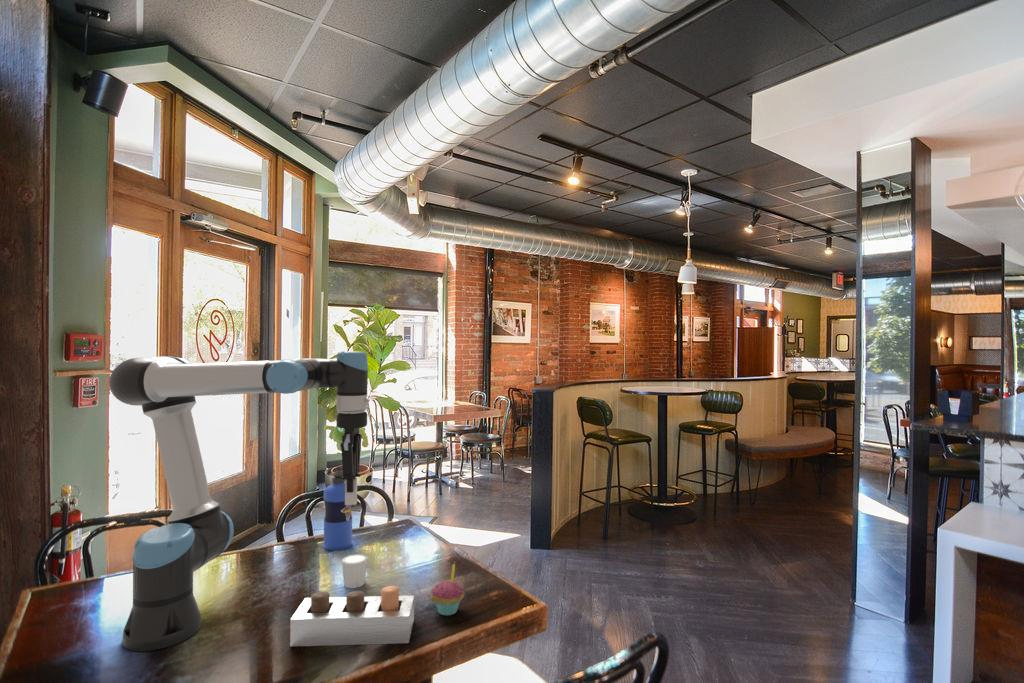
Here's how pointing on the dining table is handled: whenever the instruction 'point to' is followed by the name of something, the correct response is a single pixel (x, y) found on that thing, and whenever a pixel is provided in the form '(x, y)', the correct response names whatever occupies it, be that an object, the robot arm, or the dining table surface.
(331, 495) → the water bottle
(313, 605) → the plug near
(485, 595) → the dining table surface
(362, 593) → the plug mid
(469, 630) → the dining table surface
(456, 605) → the cupcake
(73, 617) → the dining table surface
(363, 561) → the white cup
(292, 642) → the jig
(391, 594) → the plug terracotta
